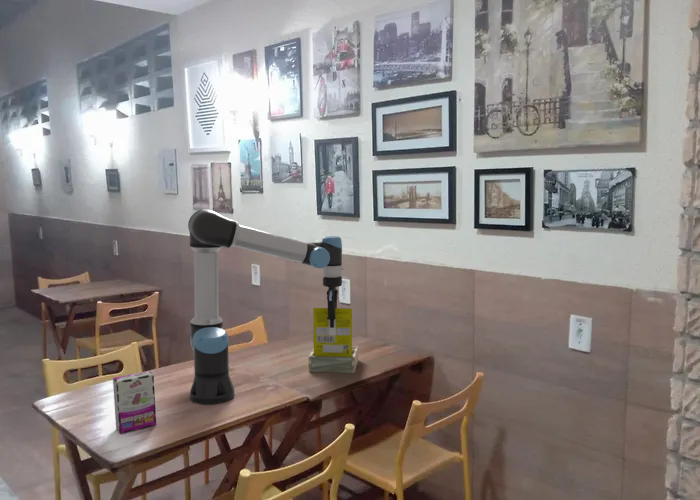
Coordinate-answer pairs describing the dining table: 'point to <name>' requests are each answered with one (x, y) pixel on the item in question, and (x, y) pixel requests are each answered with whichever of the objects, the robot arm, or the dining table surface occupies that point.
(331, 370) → the rack
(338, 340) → the food package
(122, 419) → the candy bar box
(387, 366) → the dining table surface
